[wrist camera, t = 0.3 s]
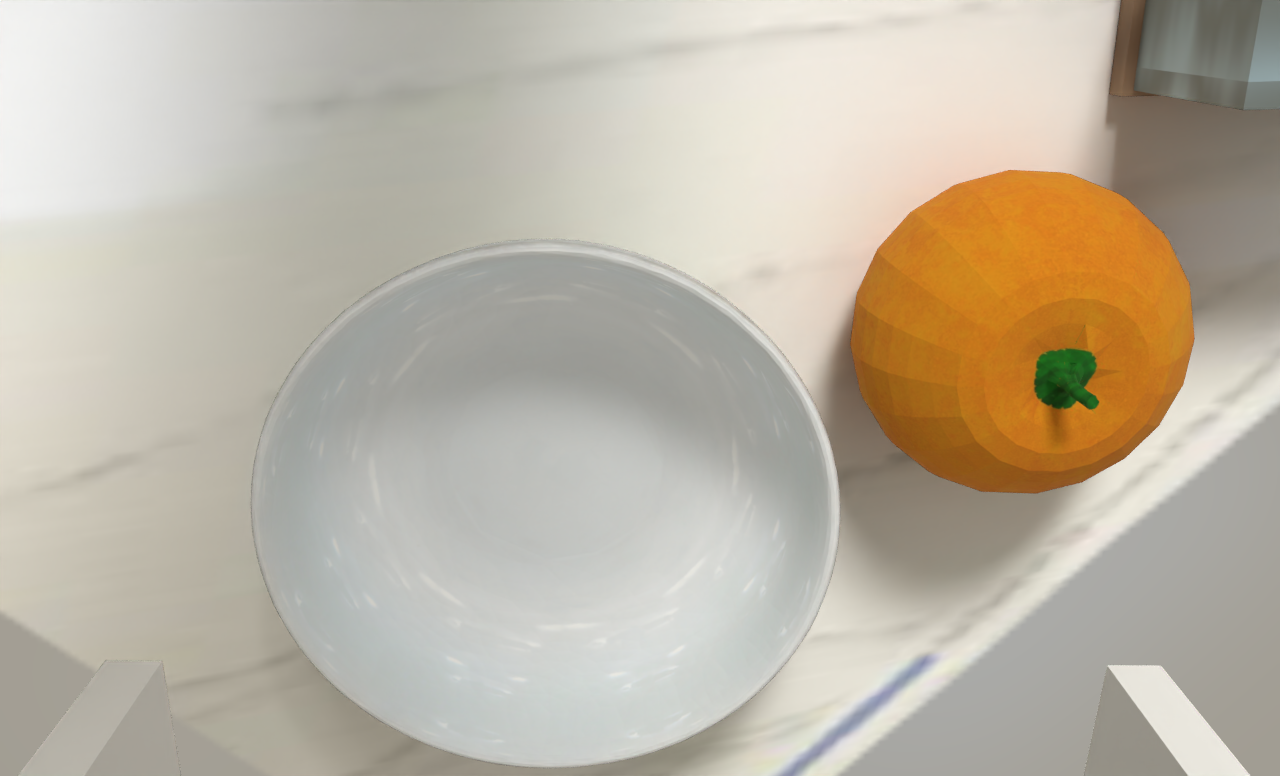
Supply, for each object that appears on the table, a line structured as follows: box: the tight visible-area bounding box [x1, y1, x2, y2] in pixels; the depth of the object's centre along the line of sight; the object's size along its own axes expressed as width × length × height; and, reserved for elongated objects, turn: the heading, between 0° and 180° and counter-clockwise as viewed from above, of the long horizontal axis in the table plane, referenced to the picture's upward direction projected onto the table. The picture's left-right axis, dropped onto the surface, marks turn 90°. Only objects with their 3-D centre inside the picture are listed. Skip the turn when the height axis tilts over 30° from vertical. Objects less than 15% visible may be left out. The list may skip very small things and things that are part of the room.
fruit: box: [850, 170, 1194, 493], centre depth 37 cm, size 12×12×10 cm
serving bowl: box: [251, 239, 840, 768], centre depth 40 cm, size 21×21×7 cm
